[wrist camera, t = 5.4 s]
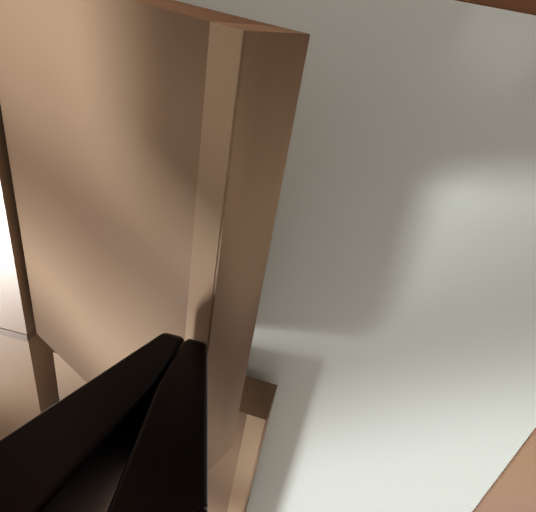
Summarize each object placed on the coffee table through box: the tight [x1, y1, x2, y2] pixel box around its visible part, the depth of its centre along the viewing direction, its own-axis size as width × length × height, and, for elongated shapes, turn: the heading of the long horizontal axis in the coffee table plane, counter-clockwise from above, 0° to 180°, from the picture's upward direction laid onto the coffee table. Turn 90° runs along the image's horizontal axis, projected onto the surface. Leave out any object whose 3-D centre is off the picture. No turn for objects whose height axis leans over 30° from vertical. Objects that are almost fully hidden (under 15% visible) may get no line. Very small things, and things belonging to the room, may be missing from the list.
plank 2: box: [53, 351, 277, 512], centre depth 18 cm, size 10×8×2 cm
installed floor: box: [0, 0, 536, 512], centre depth 15 cm, size 23×23×2 cm
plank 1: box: [0, 0, 310, 471], centre depth 11 cm, size 10×8×2 cm
